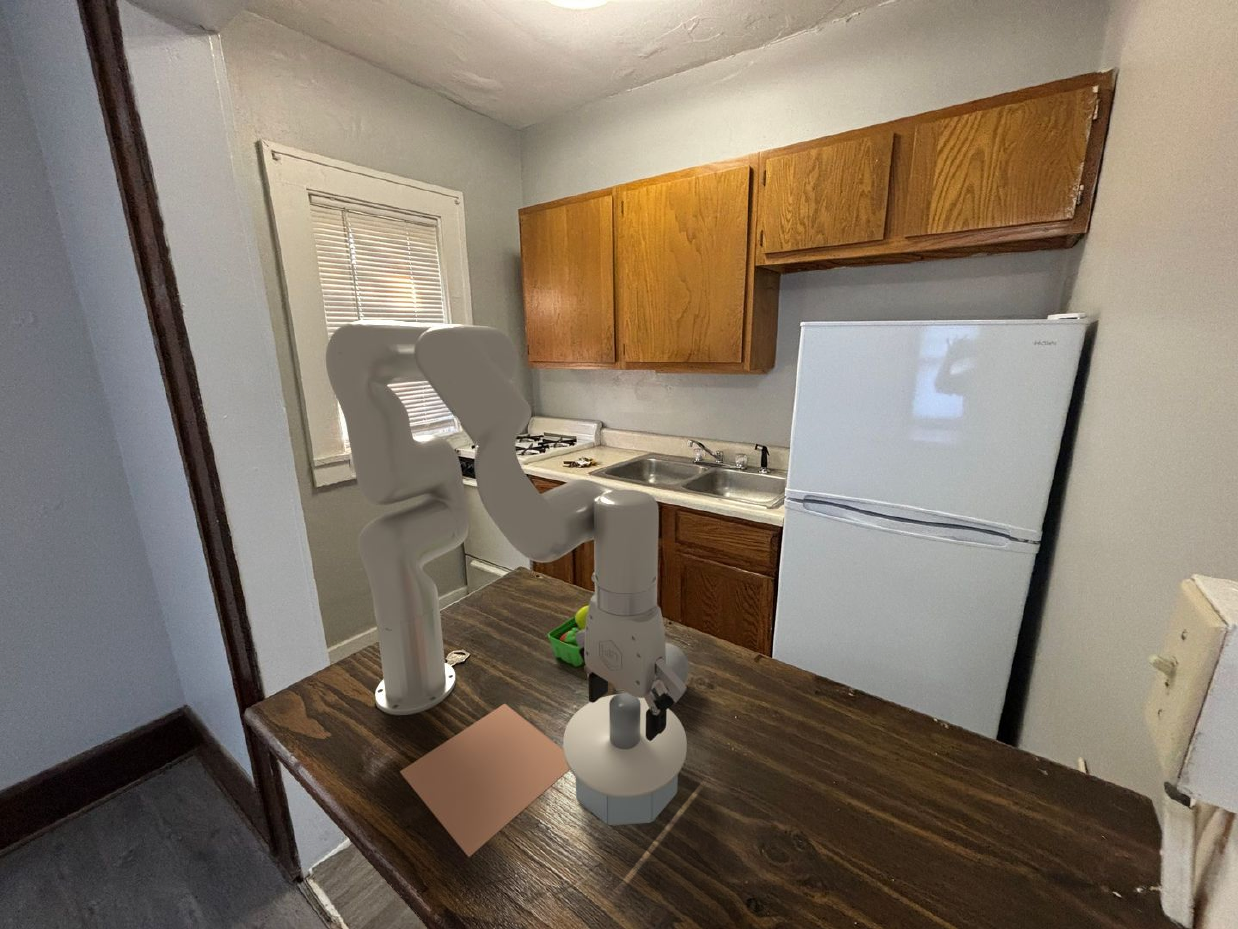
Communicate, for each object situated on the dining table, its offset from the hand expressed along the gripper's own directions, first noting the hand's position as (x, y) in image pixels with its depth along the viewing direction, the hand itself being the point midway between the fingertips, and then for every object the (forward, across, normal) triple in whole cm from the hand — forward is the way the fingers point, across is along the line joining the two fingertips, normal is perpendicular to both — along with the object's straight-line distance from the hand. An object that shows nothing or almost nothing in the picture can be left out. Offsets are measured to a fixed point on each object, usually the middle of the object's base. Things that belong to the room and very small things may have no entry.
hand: (625, 714), depth 61 cm
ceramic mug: (+11, -8, +17) cm, 21 cm away
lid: (+4, 0, 0) cm, 4 cm away
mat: (+10, -15, -11) cm, 21 cm away
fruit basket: (+11, -24, +16) cm, 31 cm away
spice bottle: (+10, -14, +10) cm, 20 cm away
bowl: (+10, 0, 0) cm, 10 cm away
